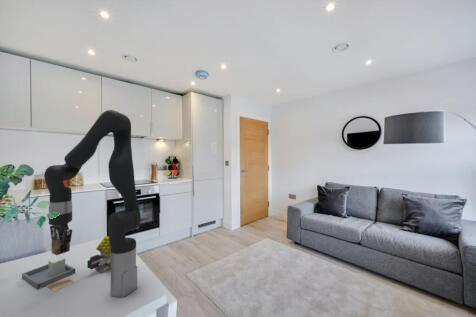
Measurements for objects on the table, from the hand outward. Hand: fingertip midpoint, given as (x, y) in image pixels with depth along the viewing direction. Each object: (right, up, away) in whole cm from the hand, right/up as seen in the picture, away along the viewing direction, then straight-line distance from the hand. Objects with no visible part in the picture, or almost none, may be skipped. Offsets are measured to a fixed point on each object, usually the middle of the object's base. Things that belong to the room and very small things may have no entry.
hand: (60, 251), depth 85 cm
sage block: (-9, -14, +9) cm, 19 cm away
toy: (+10, -15, +12) cm, 22 cm away
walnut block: (0, 0, 0) cm, 0 cm away
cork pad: (0, -15, 0) cm, 15 cm away
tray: (-11, -15, +6) cm, 19 cm away
